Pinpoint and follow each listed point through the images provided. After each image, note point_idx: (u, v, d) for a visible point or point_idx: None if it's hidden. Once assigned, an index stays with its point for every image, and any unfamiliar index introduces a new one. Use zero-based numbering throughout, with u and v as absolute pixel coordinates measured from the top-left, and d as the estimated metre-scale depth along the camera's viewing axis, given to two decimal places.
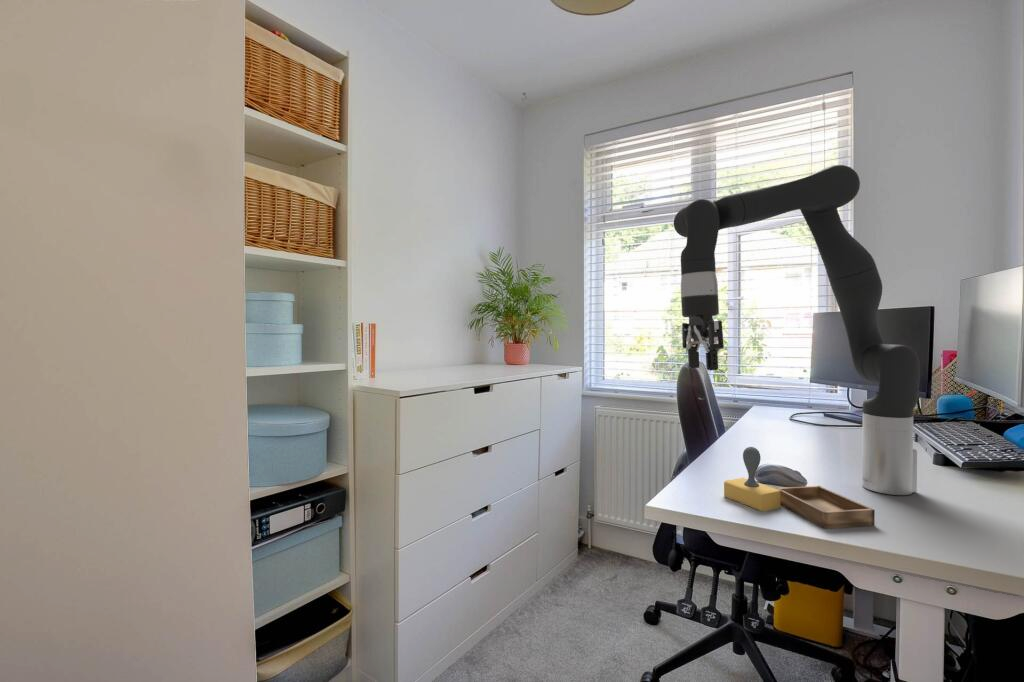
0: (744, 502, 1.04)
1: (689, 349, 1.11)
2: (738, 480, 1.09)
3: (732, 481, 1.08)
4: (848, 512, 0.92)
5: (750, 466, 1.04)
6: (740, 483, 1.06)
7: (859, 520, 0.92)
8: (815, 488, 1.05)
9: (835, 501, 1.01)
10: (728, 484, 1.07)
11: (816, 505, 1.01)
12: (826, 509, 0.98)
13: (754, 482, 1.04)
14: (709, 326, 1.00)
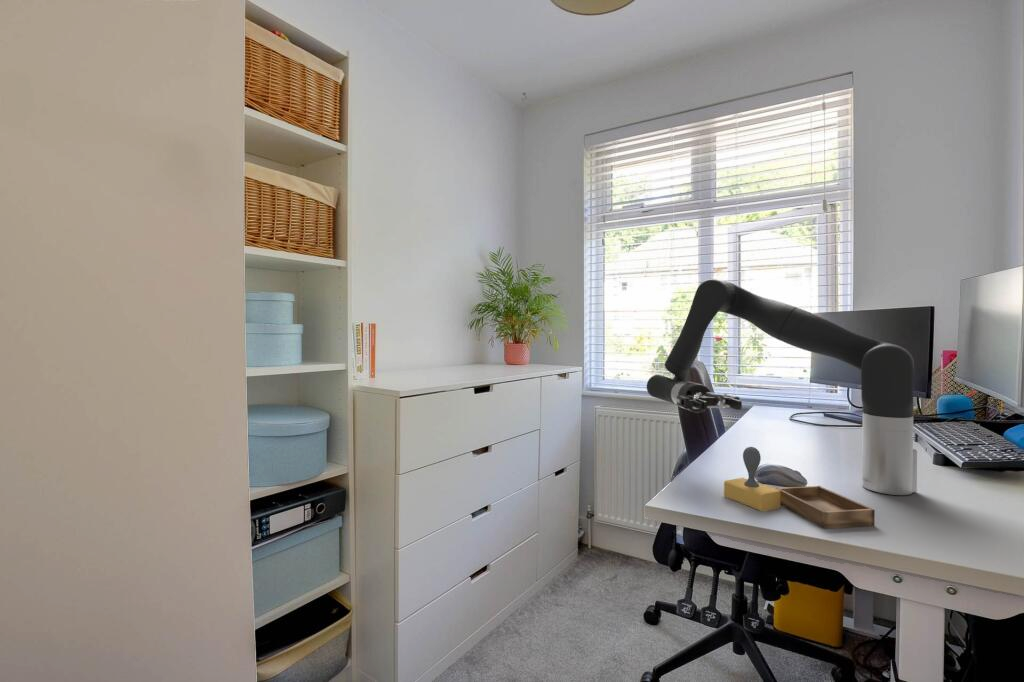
0: (744, 502, 1.04)
1: (729, 406, 1.21)
2: (738, 480, 1.09)
3: (732, 481, 1.08)
4: (848, 512, 0.92)
5: (750, 466, 1.04)
6: (740, 483, 1.06)
7: (859, 520, 0.92)
8: (815, 488, 1.05)
9: (835, 501, 1.01)
10: (728, 484, 1.07)
11: (816, 505, 1.01)
12: (826, 509, 0.98)
13: (754, 482, 1.04)
14: None
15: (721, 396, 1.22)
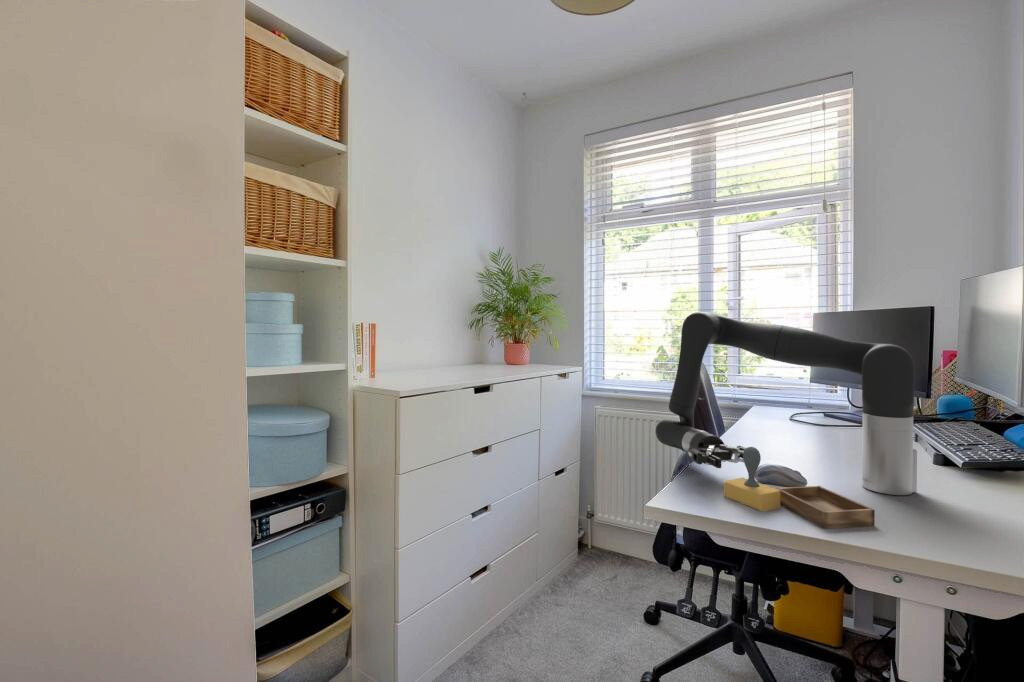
0: (744, 502, 1.04)
1: None
2: (738, 480, 1.09)
3: (732, 481, 1.08)
4: (848, 512, 0.92)
5: (750, 466, 1.04)
6: (740, 483, 1.06)
7: (859, 520, 0.92)
8: (815, 488, 1.05)
9: (835, 501, 1.01)
10: (728, 484, 1.07)
11: (816, 505, 1.01)
12: (826, 509, 0.98)
13: (754, 482, 1.04)
14: None
15: (735, 450, 1.16)
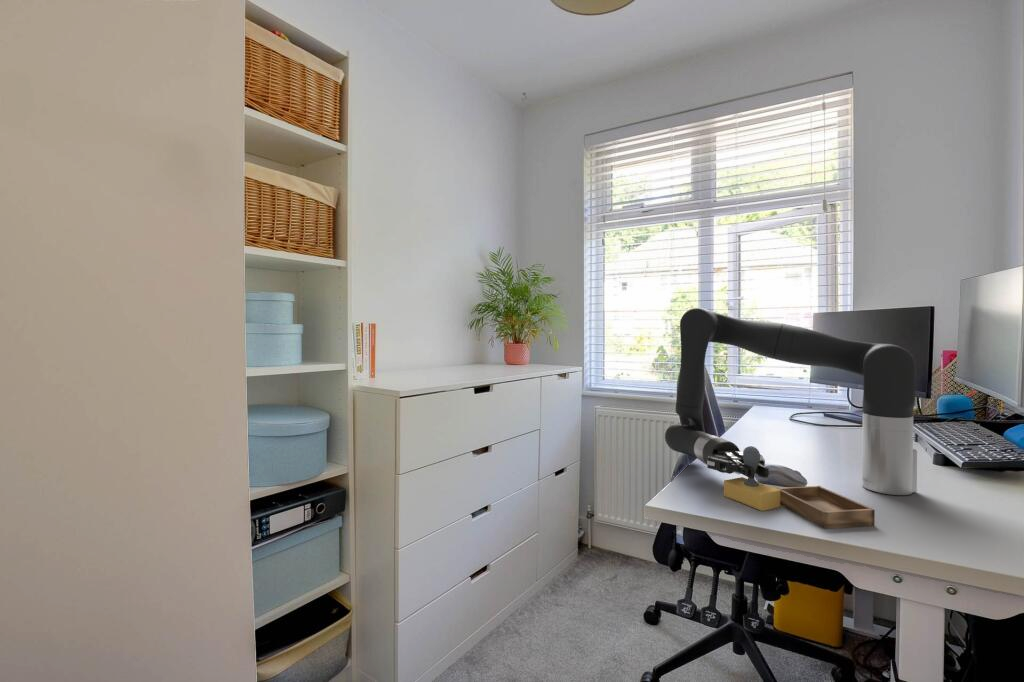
0: (744, 502, 1.04)
1: None
2: (738, 479, 1.09)
3: (732, 481, 1.08)
4: (848, 512, 0.92)
5: (750, 465, 1.04)
6: (740, 483, 1.06)
7: (859, 520, 0.92)
8: (815, 488, 1.05)
9: (835, 501, 1.01)
10: (728, 483, 1.07)
11: (816, 505, 1.01)
12: (826, 509, 0.98)
13: (754, 481, 1.04)
14: None
15: None
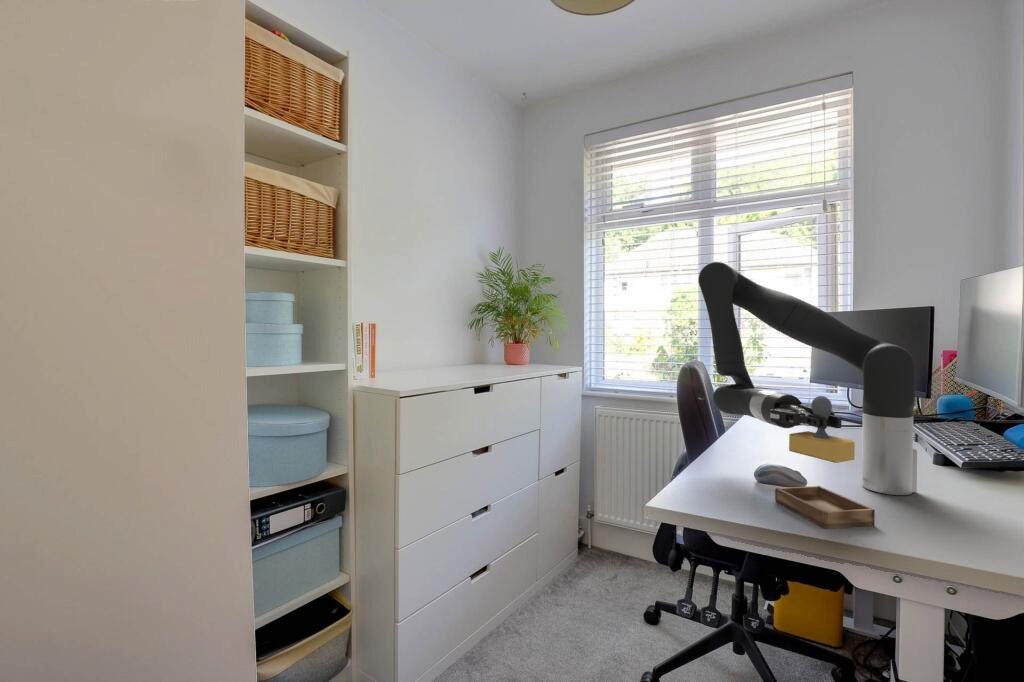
0: (814, 454, 0.97)
1: None
2: (804, 433, 1.02)
3: (798, 434, 1.01)
4: (848, 512, 0.92)
5: None
6: (808, 435, 0.99)
7: (859, 520, 0.92)
8: (815, 488, 1.05)
9: (835, 501, 1.01)
10: (794, 437, 1.00)
11: (816, 505, 1.01)
12: (826, 509, 0.98)
13: (824, 433, 0.97)
14: None
15: None
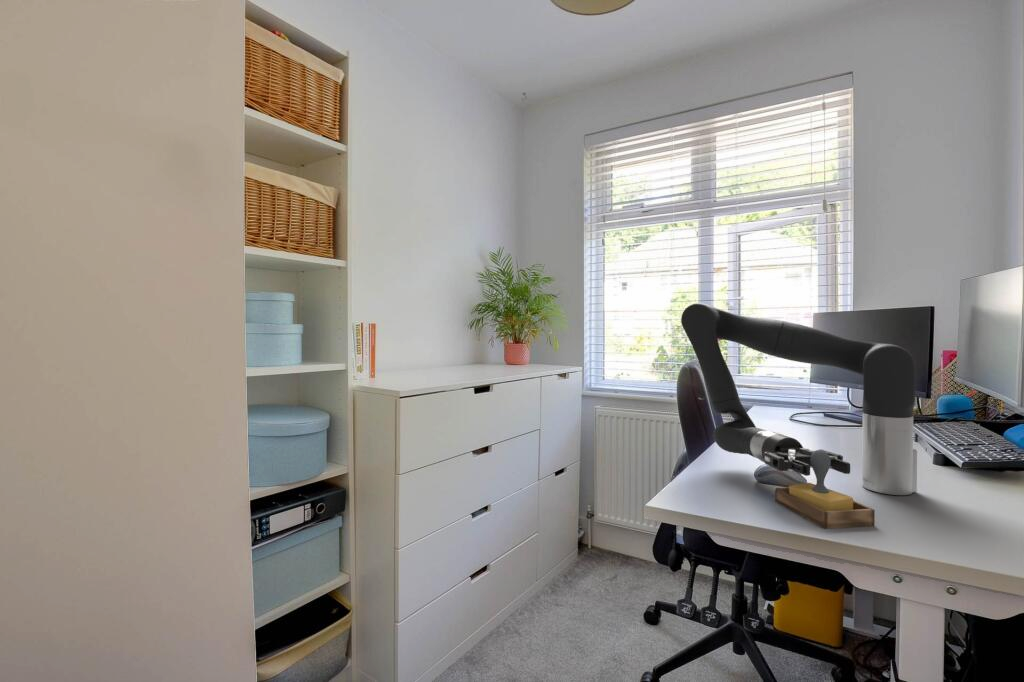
0: None
1: (831, 467, 1.01)
2: (805, 485, 1.02)
3: (798, 486, 1.01)
4: (848, 512, 0.92)
5: (819, 470, 0.97)
6: (807, 488, 1.00)
7: (859, 520, 0.92)
8: None
9: None
10: (793, 489, 1.01)
11: None
12: None
13: (823, 488, 0.98)
14: None
15: None
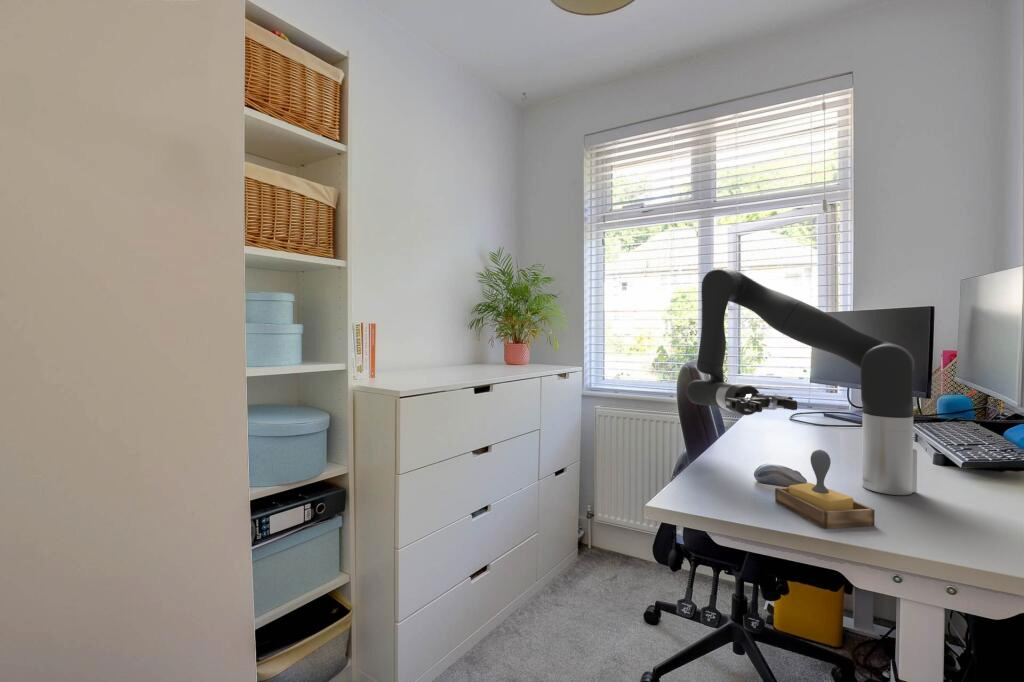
0: None
1: (782, 407, 1.16)
2: (805, 485, 1.02)
3: (798, 486, 1.01)
4: (848, 512, 0.92)
5: (819, 470, 0.97)
6: (807, 488, 1.00)
7: (859, 520, 0.92)
8: None
9: None
10: (793, 489, 1.01)
11: None
12: None
13: (823, 488, 0.98)
14: None
15: (773, 397, 1.17)
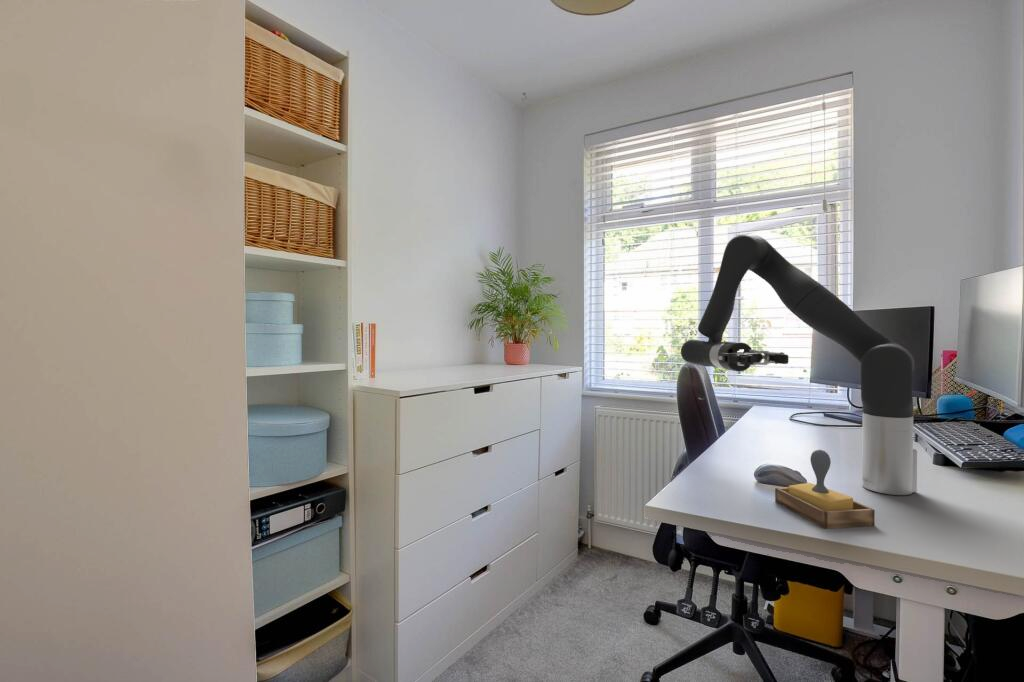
0: None
1: (774, 362, 1.17)
2: (805, 485, 1.02)
3: (798, 486, 1.01)
4: (848, 512, 0.92)
5: (819, 470, 0.97)
6: (807, 488, 1.00)
7: (859, 520, 0.92)
8: None
9: None
10: (793, 489, 1.01)
11: None
12: None
13: (823, 488, 0.98)
14: (722, 362, 1.21)
15: (765, 352, 1.19)
